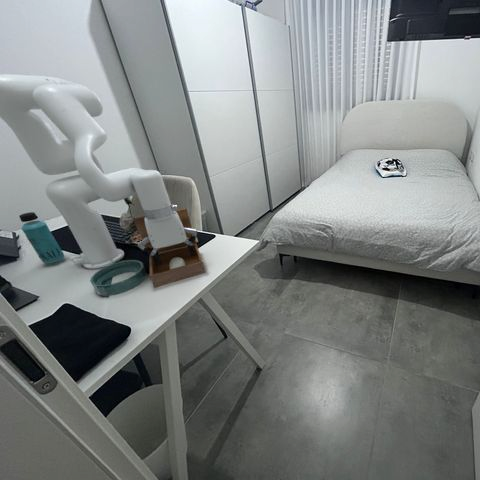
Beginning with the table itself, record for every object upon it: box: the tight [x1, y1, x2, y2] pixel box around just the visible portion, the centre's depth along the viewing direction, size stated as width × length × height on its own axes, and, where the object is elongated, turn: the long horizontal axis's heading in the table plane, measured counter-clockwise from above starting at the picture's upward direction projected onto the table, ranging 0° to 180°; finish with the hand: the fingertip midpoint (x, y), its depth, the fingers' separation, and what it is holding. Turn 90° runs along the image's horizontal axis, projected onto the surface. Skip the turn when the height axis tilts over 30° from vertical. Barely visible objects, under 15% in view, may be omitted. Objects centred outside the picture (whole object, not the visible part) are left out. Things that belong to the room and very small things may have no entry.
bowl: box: [89, 259, 148, 297], centre depth 85 cm, size 14×14×4 cm
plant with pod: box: [119, 196, 142, 245], centre depth 108 cm, size 8×11×20 cm
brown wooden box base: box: [148, 243, 207, 289], centre depth 91 cm, size 15×16×5 cm
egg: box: [169, 257, 185, 270], centre depth 89 cm, size 7×5×5 cm
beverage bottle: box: [18, 211, 65, 264], centre depth 93 cm, size 6×7×20 cm
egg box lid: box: [133, 207, 197, 256], centre depth 91 cm, size 15×16×5 cm
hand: (176, 258), depth 87 cm, fingers open, 9 cm apart
